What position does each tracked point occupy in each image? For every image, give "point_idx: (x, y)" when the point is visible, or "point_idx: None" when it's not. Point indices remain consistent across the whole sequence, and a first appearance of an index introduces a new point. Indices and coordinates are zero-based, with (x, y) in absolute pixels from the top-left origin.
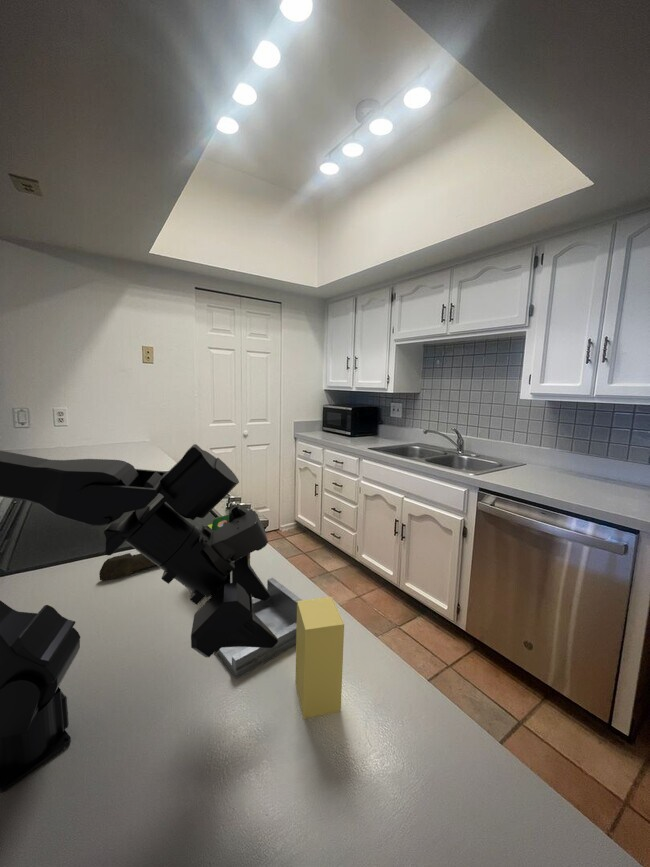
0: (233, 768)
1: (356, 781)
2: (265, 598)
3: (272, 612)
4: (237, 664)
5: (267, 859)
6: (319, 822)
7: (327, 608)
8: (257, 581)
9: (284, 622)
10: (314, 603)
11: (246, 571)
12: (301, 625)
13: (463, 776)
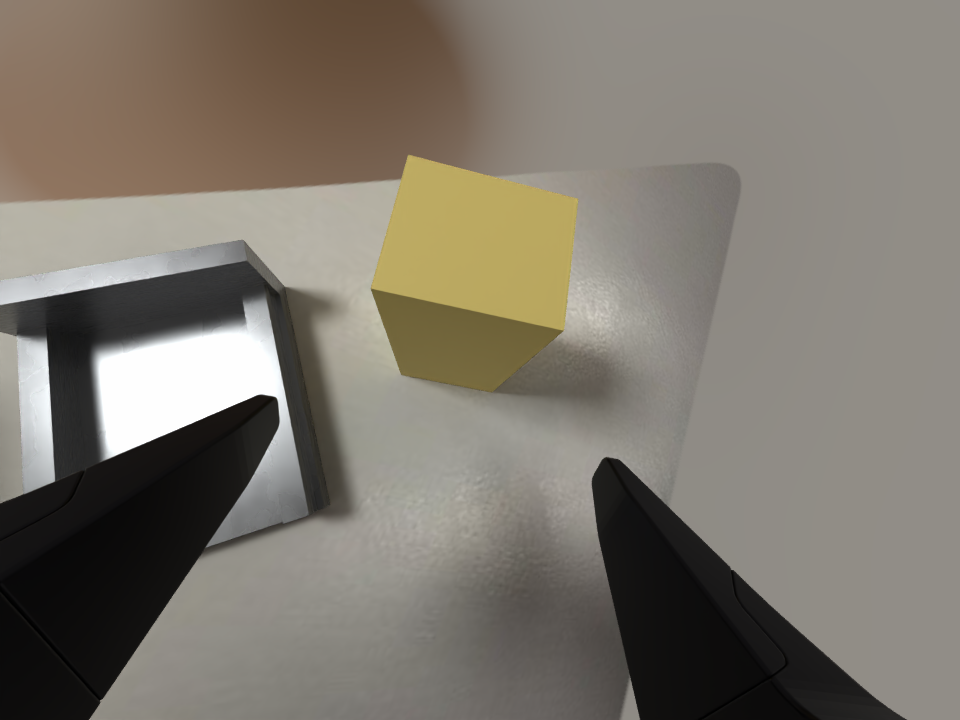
0: (535, 544)
1: (615, 357)
2: (273, 422)
3: (130, 349)
4: (312, 506)
5: None
6: (647, 430)
7: (475, 204)
8: (181, 473)
9: (202, 332)
10: (420, 232)
11: (24, 603)
12: (480, 327)
13: (649, 226)
